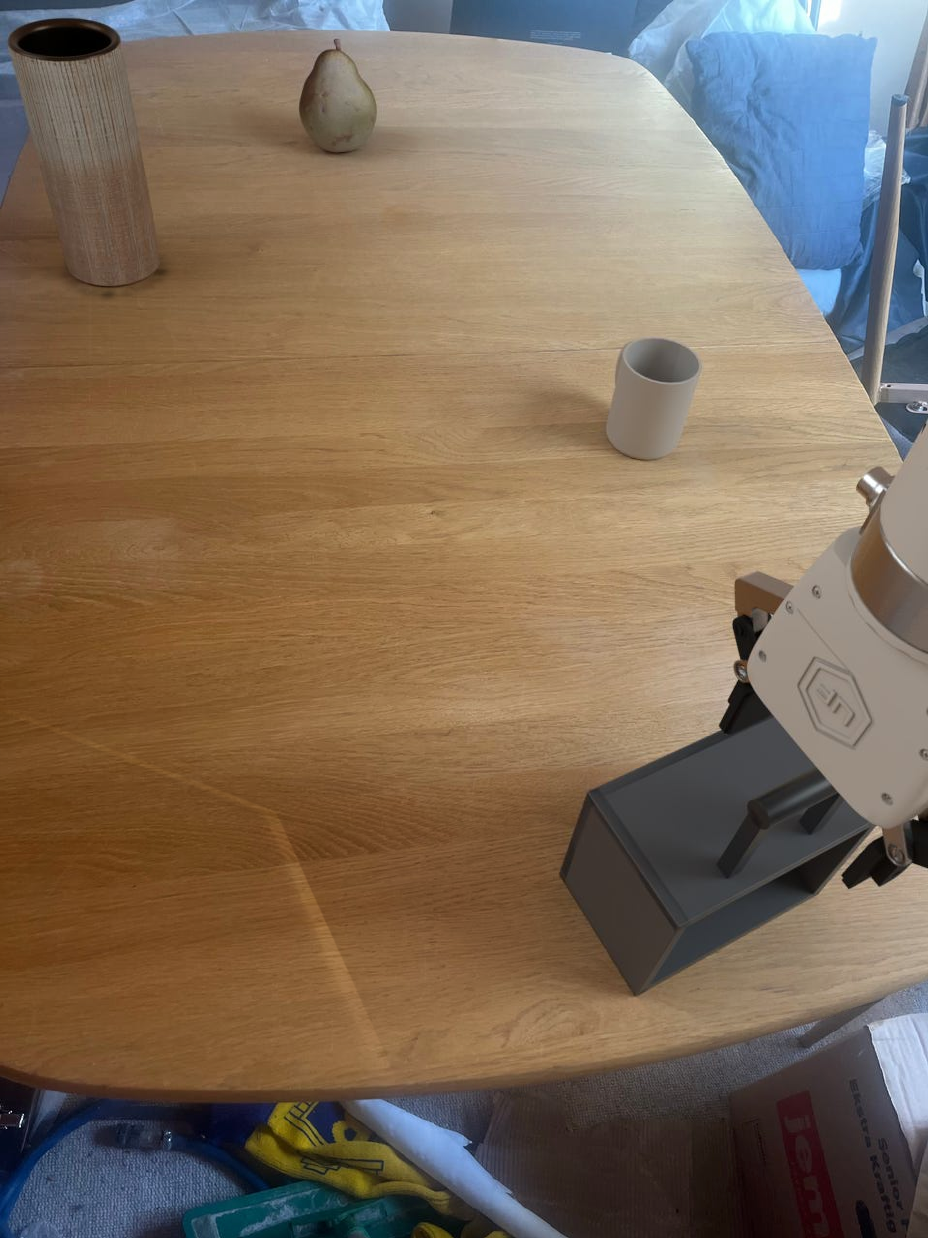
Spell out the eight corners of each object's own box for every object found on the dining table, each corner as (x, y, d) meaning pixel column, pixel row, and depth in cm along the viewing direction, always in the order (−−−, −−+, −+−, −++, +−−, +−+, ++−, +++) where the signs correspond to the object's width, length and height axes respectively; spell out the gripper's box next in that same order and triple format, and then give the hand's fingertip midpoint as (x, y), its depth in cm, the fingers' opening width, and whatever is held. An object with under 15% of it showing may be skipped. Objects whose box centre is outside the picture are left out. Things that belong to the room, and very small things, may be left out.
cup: (625, 468, 90) (646, 390, 84) (580, 404, 96) (595, 326, 89) (691, 454, 93) (716, 377, 86) (643, 392, 98) (663, 315, 91)
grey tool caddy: (734, 787, 69) (818, 894, 64) (558, 874, 64) (635, 997, 59) (827, 626, 55) (943, 748, 50) (611, 720, 50) (717, 866, 45)
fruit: (360, 125, 133) (359, 28, 123) (391, 154, 128) (392, 56, 118) (291, 136, 129) (285, 38, 120) (320, 167, 124) (316, 67, 115)
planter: (101, 231, 110) (50, 8, 93) (178, 253, 109) (141, 30, 91) (47, 273, 104) (-18, 43, 87) (128, 297, 102) (78, 66, 85)
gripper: (740, 459, 40) (647, 694, 53) (1076, 794, 31) (863, 976, 44) (872, 414, 42) (752, 649, 56) (1217, 710, 33) (976, 906, 47)
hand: (801, 793), depth 50 cm, fingers open, 9 cm apart
